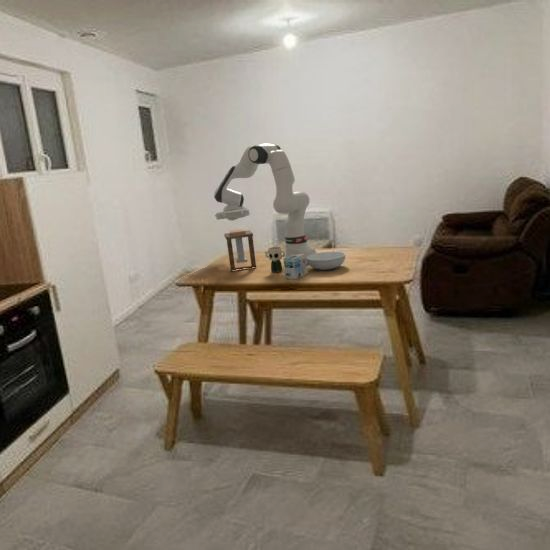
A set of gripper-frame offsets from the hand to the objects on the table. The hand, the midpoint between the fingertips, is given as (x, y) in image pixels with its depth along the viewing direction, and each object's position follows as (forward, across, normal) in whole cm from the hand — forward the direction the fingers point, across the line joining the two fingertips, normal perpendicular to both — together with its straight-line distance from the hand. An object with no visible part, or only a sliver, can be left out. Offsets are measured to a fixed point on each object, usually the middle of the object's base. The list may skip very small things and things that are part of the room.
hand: (233, 215), depth 290 cm
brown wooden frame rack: (+13, 0, +29) cm, 32 cm away
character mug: (+35, +16, +30) cm, 49 cm away
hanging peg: (+13, 0, +26) cm, 29 cm away
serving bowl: (+44, +41, +30) cm, 67 cm away
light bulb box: (+52, +23, +30) cm, 64 cm away
